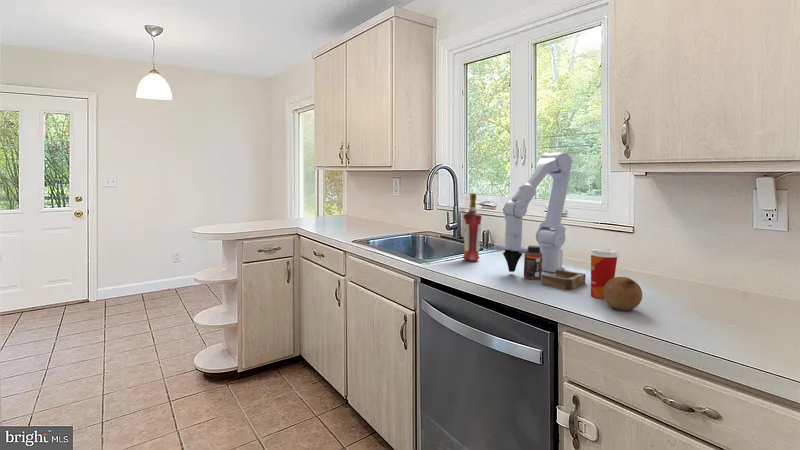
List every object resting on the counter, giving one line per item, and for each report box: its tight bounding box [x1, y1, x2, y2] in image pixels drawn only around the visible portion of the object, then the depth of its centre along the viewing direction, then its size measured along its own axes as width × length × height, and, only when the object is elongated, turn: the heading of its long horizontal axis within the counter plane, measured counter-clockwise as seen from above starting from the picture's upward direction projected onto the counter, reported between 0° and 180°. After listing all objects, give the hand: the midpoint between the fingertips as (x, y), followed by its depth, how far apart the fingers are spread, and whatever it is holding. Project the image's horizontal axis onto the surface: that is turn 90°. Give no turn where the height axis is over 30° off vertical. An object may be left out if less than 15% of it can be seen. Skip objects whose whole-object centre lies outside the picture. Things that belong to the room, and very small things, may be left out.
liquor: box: [462, 192, 482, 263], centre depth 175 cm, size 7×7×28 cm
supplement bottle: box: [523, 245, 543, 281], centre depth 147 cm, size 6×6×11 cm
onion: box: [603, 276, 643, 312], centre depth 115 cm, size 10×9×10 cm
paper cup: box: [589, 248, 619, 300], centre depth 126 cm, size 8×8×14 cm
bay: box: [540, 269, 586, 291], centre depth 140 cm, size 12×10×3 cm
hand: (511, 271), depth 153 cm, fingers closed
